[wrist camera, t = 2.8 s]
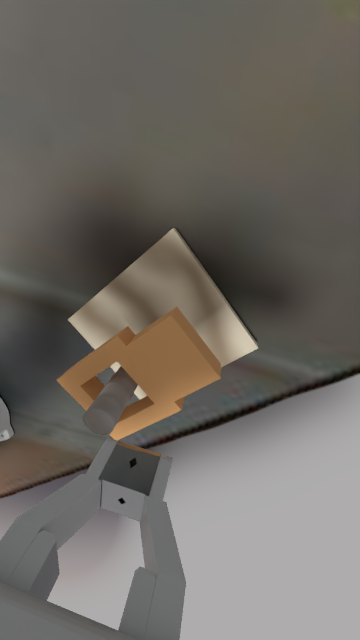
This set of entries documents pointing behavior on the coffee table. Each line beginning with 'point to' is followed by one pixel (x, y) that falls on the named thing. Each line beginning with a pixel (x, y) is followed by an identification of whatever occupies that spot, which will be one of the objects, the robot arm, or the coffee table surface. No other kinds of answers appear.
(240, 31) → the coffee table surface
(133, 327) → the pipe stand
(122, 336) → the collar
